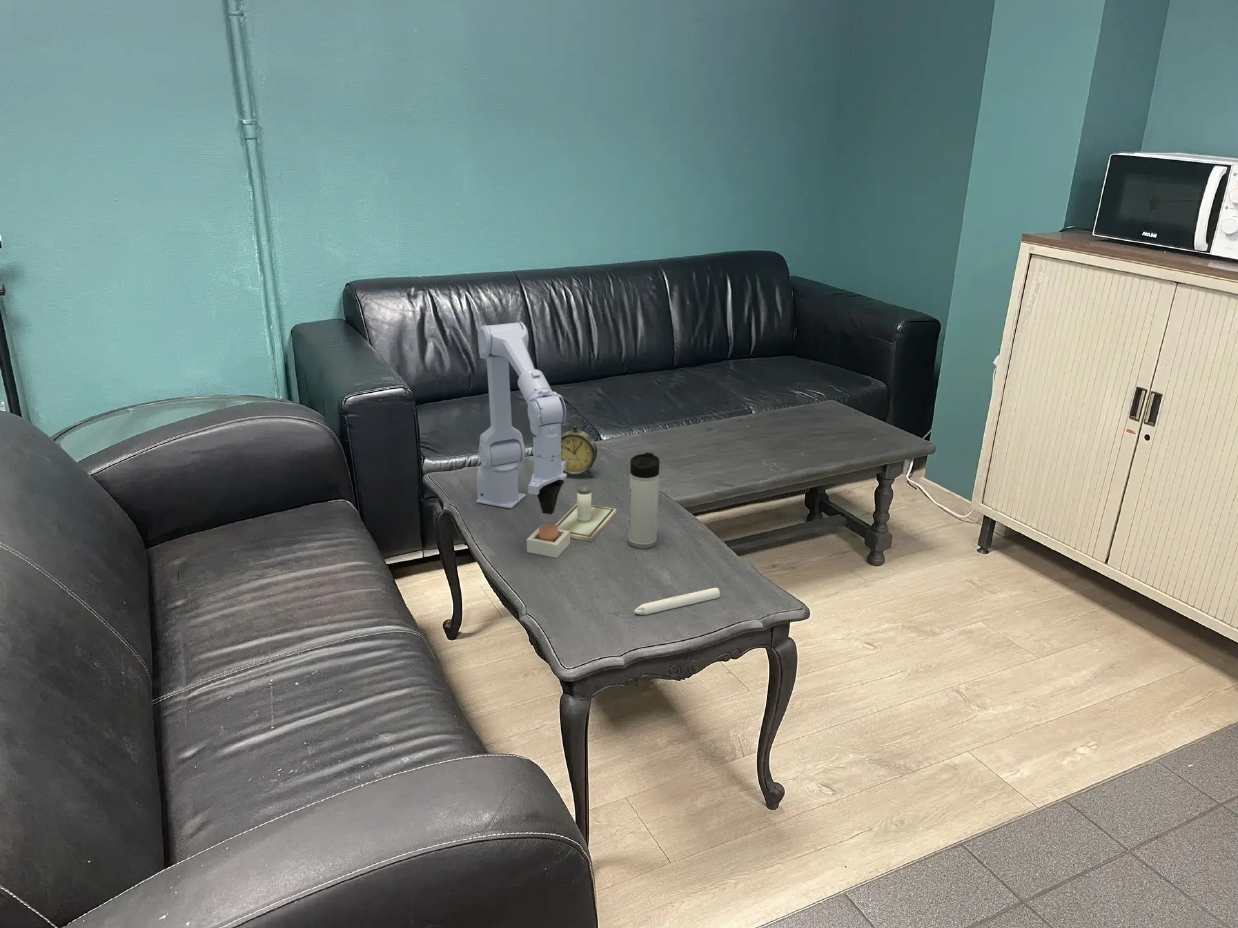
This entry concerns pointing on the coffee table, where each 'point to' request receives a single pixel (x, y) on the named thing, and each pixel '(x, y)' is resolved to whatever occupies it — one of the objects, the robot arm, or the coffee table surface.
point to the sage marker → (584, 503)
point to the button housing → (548, 544)
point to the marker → (678, 601)
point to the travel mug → (643, 500)
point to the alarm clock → (578, 451)
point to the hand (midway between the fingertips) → (548, 512)
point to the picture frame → (588, 529)
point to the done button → (548, 532)
